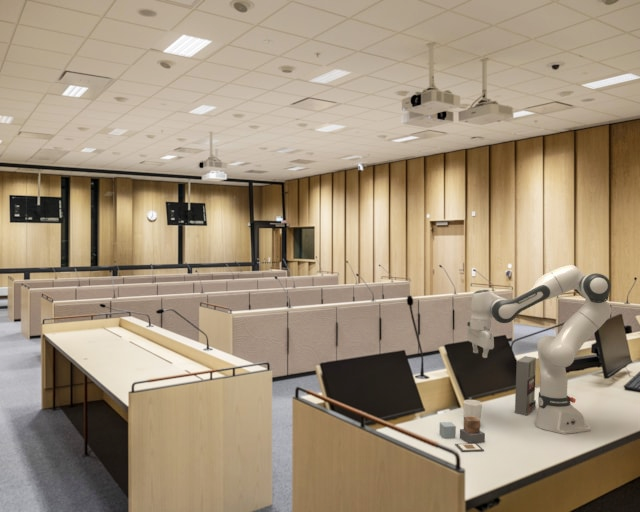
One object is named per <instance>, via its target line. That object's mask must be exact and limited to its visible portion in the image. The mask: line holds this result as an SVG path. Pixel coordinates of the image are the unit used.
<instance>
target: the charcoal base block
mask: <svg viewBox="0 0 640 512" xmlns="http://www.w3.org/2000/svg"><path fill="white" fill-rule="evenodd" d="M485 434H486V433H485V432H484V431H481V430H480V433H467V432H466V431H465V430H464V428H460V429H459V439H461V441H464V442H466V444H468V443H477V444H483V443H485V442H486V439H485V437H486V435H485Z"/></svg>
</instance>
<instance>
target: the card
mask: <svg viewBox="0 0 640 512" xmlns="http://www.w3.org/2000/svg"><path fill="white" fill-rule="evenodd" d="M454 446H456V448H457V449H458V450H459V451H460V452H461V453H471V452H472V453H473V452H474V453H476V452H484V451H485V450H484V449H483V448H482V447H481V446H480V445H479V443H454Z"/></svg>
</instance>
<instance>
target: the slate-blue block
mask: <svg viewBox="0 0 640 512" xmlns="http://www.w3.org/2000/svg"><path fill="white" fill-rule="evenodd" d="M456 429H457V425H455V424H454V423H453V422H451V421H446V422H445V421H442V422H439V435H440V437H442V438H443V439H456V435H457V434H456V432H457V431H456Z"/></svg>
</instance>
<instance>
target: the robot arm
mask: <svg viewBox="0 0 640 512" xmlns="http://www.w3.org/2000/svg"><path fill="white" fill-rule="evenodd" d="M611 287H612V284H611V281H610V279H609V278H608V277H607V276H606V275H604V274H602V273H599V272H596V273H588V274H584V273H583V272H582V271H581V270H580V268H578V267H577V266H575V265H574V264H567V265H564V266H560V267H557V268H555V269H553V270H551V271H550V270H549V271H548V272H546V273H544V274H543V275H542V276H540V277H538V278H537V279H536V280H535V282H534V284H533V286H532V287H531V288H530V289H529V290H528V291H526V292H524V293H522V294H520V295H518V296H516V297H514V298H512V299H507V298H505V297H502V296H499V295H497V294H495V293H493V292H492V291H491V290H490V289H479V290H477V291H475V292H473V294H472V297H471V306H470V308H471V309H470V310H471V316H470V317H471V318H470V320H468V321H467V322H466V327H467V340H468V342H469V343H471V344H472V353H474V354H479V349H478V346H479V347H480V348H482V349H483V352H482V353H481V354H482V356H481V357H482V358H484V359H487V358H488V354H489V351H490V350H493V349H494V348H495V339H494V333H493V332H492V330H491V329H492V318H493V319H494V320H495V321H496V322H498V323H501V324H508V323H511V322H512V321H514V319H515V318H517V316H518V315H519V314H520V313H522V312H523V311H525V310H527V309H529V308H530V307H533V306H535V305H536V304H539V303H541V302H544V301H547V300H550V299H553V298H557V297H558V296H561V295H563V294H565V293H567V292H569V291H572V290H574V291H575V292H576V294H578V295H579V296H581V297H582V298H584V299H585V300H584V304H582V306H581V307H580V308H579V309H578V310H577V311H576V312H575V313H573V314H572V315H571V316H570V317H569V318H568V319H567V320H566V321H565V322H564V323H563V325H562V327H561V330H559V332H558V334H557V335H556V336H552V335H547V336H543V337H541V338H539V340H538V341H537V344H536V348H537V355H538V356H537V357H538V366H539V392H538V398H537V399H538V401H537V402H538V409H537V415H536V418H535V421H534V425H535V426H536V427H538V428H540V429H542V430H545V431H548V432H549V431H550V432H555V433H558V434H562V435H568V434H575V433H576V432H577V433H583V432H590V431H591V427H590V426H589V424H587V423H585V417H584V415H583V413H581V412H580V411H579V409H577V408H576V407H574V406H573V405H572V404H575V403H576V401H577V399H576V398H574V397H570V396H569V395H568V380H569V379H568V376H567V371H566V368H568V367H569V366H571V365H572V364H573V363H574V361H575V357H576V355H577V354H578V352H579V351H580V349H581V348H582V347H583V345H584V344H585V343H586V341H587V340H589V338H591V336H593V335H594V334H595V333H596V332H597V331H599V329H600V328H601V327H602V326H603V325H604V324H605V323H606V321H608V319H609V318H610V316H611V314H612V312H613V311H612V307H611V304H610V303H609V302H608V300H609V297H610V292H611V289H612V288H611Z"/></svg>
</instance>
